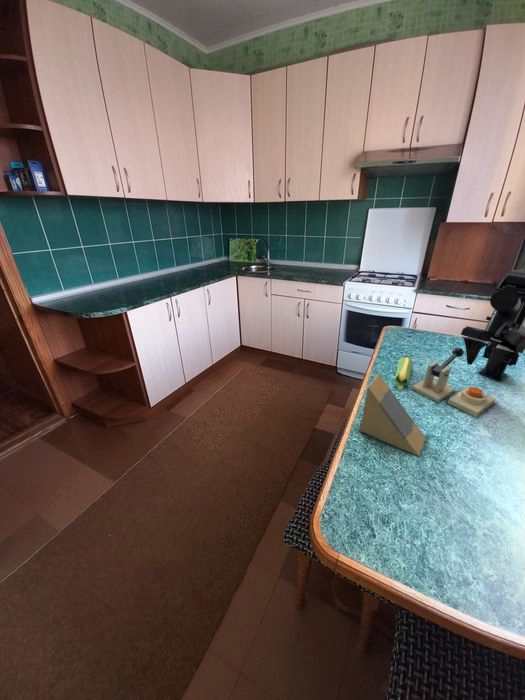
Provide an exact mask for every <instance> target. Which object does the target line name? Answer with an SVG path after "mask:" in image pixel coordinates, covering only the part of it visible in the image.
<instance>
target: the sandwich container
mask: <svg viewBox="0 0 525 700" xmlns="http://www.w3.org/2000/svg"><path fill="white" fill-rule="evenodd" d="M365 394H366V395H365V401H364V406H363V411H362V418H361V423H360V429H359V431H360V432H361V433H364V434H366V435H369V436H370V437H372V438H375V439H377V440H380V441H381V442H384V443H386V444H389V445H390V446H394V447H396V448H398V449H401V450H403V451H406V452H408V453H410V454H413V455H415V456H417V457H419V456H420V455H421V453H422V450H423V448H424V445H425V441H426V436H425V434H424V433H423V432H422V430H421V429H420V428H419V426H418V425H417V423H415V421H414V420H413V418H412V417H411V416H410V415H409V413H408V412H407V410H406V409H405V408H404V406H403V405H402V404H401V402H400V401H399V400H398V398H397V397H396V396H395V394H394V393H393V391H392V390H391V388H390V387H389V385H388V384H387V383H386V381H385V380H384V379H383V377H382V375H381V374H380V373H377V374H376V376H375V377H374V379H373V380H372V381H371V382H370V383H369V385H368V386H367V389H366V393H365Z"/></svg>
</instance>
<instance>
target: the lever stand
mask: <svg viewBox="0 0 525 700" xmlns="http://www.w3.org/2000/svg"><path fill="white" fill-rule="evenodd" d="M437 365H439V361H434V362H432V363H430V364H428V365H427V369H426V372H425V376H424V379H422V380H420V381H418V382H417V383H414V384H413V385H412V386H411V390H413V391H415V392H417V393H419V394H420V395H423V396H425V397H426V398H428V399H431V400H432V401H435V402H437V403H439V402H441V401H442V400H444V399H445V398H447V397H448V396H450V395H451V394H452V393H454V392H455V390H456V388H455V387H453V386H450V385H448V384H447V382H448V379H449V376H450V373H451V369H452V367H450V366H447V367H445V368H444V369H443V370H441V372H440V375H439V377H437V378H438V379H435V376H434V375H432V372H433V369H434V368H435V367H436V366H437Z"/></svg>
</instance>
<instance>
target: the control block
mask: <svg viewBox="0 0 525 700" xmlns="http://www.w3.org/2000/svg"><path fill="white" fill-rule="evenodd" d="M469 387H470V386H466V387H464V388H462V389H461V391H459V392H457V393H455V394H454V395H453V396H451V397H450V398H449V399H448V401H447V404H449V405H450V406H453V407H455V408H457V409H459V410H460V411H463V412H464V413H467V414H468V415H470V416H473V417H475V418H476V417H478V416H479V415H480V414H481V413H483V412H484V411H485V410H487V409H488V408H489V407H490V406H492V405H493V404H494V403H495V401H496V399H497V397H494V396H491V395H489V394H487V393H485V392H483V393H482V396H481V398H475V397H472V396H469V395H468V394H467V392H468V389H469Z"/></svg>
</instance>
